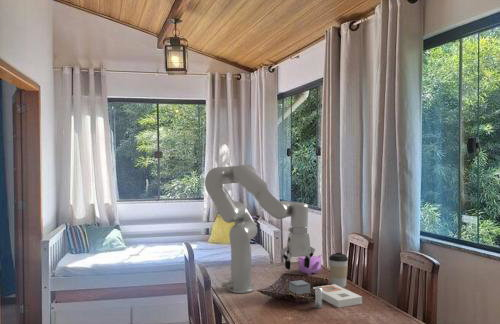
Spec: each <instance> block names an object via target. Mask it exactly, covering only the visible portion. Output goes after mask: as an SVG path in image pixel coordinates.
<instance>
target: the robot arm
mask: <svg viewBox="0 0 500 324" xmlns="http://www.w3.org/2000/svg"><path fill="white" fill-rule="evenodd" d="M228 184H239V185H240V186H241V187H243V189H245V190H246V191H247V192H248V193H249V194H251V196H253V197H254V198H255V200H256V202H257V203H258V205H259V206H260V207H261V208H262V209H263V210H264V211H265V212H266V213H268V214H269V215H270V216H271V217H272V218H274V219H276V220H282V219H286V218H289V217H290V227H289V228H288V229H287V231H288V232H289V233H288V237H287V240H286V241H287V243H286V247H284V248H282V249H281V250H280V254H281V257H282V258H283V259H284V260H285V261H284V266H285V269H286V270H288V271H289V270H291V259H292V257H293V258H298V257H304V256H305V257H306V258H305V259H304V267H306V268H309V265H310V259H311V257H312V256H314V253H315V251H316V249H315V248H314V247H312V246H311V240H310V234H309V232H308V221H309V205H308V204H307V203H306V202H305V203H304V202H293V201H290V200H281V201H280V200H279V199H277V198H276V197H275V196H274V194H272V193H271V192H270V190H269V188H268V184H267V182H266V181H265V180H263V178H261V177H260V176H259V175H258V174H257V170H256V168H255V167H254V166H253V165H251V164H240V165H231V166H218V167H217V166H216V167H213V168H211V169H210V170H209V171H208V172H207V174H206V175H205V180H204V186H205V190H206V192H207V194H208V196H209V197H210V199H211V200H212V202H213V205H214V206H215V208H216V210H217V212H218V213H219V214H220V217H221V219H222V220H223V222H226V223H227V224H231V223H234V225H233V226H232V227H231V228H230V230H229V237H228V238H229V244H230V257H231V258H230V262H231V263H230V266H231V267H230V268H231V271H230V273H231V279H229V280H228V281H227V282H222V283H221V287H222V288H225V287H226V288H228V289H227V290H228V291H229V292H231V293H235V294H247V293H251V292H253V291H256V290H255V289H256V287H255V285H253V284H252V247H251V242H250V241H251V240H252V239H254V238H255V237H256V236H257V233H258V227H257V224H256V222H255V220H254V219H253V217H252V215H251V214H250V211H249V210H248V208H247V206H246V205H244V203H242V202H241V201H234V200H233V198H232V197H231V195H230V193H229V191H228V190H227V189H226V188H225V187H224V185H228Z"/></svg>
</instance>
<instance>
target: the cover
mask: <svg viewBox="0 0 500 324" xmlns="http://www.w3.org/2000/svg"><path fill="white" fill-rule="evenodd" d="M289 290H290V291H292V292H294V293H296V294H303V293H309V292H310V293H311V283H310V282H307V281H305V280H303V279H299V280H294V281H292V280H291V281H288V291H289Z"/></svg>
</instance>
